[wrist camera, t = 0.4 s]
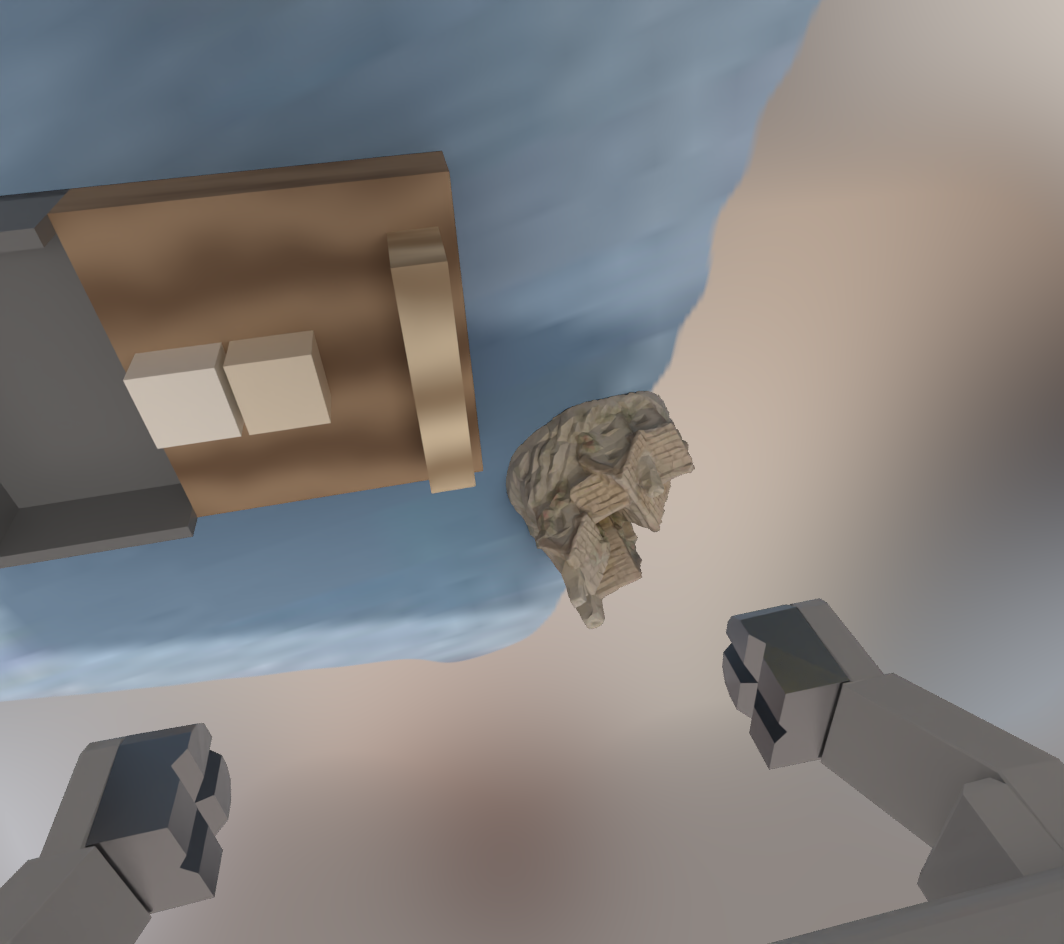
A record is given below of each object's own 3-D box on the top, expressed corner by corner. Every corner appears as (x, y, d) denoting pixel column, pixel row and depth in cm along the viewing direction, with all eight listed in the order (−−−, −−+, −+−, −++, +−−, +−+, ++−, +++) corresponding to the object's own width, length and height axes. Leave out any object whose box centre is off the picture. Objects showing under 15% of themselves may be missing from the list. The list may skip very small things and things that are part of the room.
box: (-199, 216, 37) (-274, 261, 33) (70, 188, 39) (34, 228, 34) (16, 511, 52) (-16, 570, 47) (206, 481, 53) (193, 536, 49)
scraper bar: (386, 232, 40) (390, 268, 36) (438, 226, 40) (447, 261, 37) (425, 448, 50) (431, 493, 47) (466, 442, 51) (475, 486, 47)
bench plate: (70, 188, 39) (47, 214, 36) (441, 150, 42) (449, 171, 39) (206, 481, 53) (197, 517, 50) (475, 439, 56) (483, 470, 53)
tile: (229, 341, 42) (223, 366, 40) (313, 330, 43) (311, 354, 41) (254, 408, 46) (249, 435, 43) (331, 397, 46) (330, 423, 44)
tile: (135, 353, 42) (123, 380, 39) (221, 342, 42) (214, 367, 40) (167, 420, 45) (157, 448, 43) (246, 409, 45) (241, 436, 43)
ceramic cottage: (538, 563, 67) (586, 692, 55) (481, 436, 56) (525, 561, 45) (687, 501, 67) (766, 616, 55) (657, 363, 57) (746, 468, 45)
